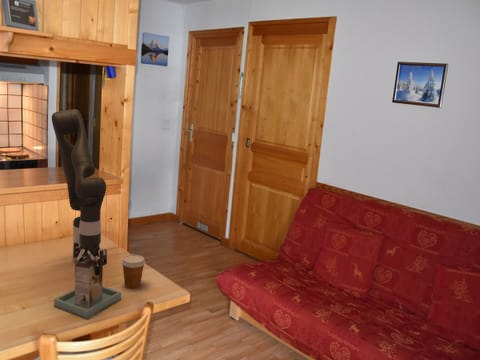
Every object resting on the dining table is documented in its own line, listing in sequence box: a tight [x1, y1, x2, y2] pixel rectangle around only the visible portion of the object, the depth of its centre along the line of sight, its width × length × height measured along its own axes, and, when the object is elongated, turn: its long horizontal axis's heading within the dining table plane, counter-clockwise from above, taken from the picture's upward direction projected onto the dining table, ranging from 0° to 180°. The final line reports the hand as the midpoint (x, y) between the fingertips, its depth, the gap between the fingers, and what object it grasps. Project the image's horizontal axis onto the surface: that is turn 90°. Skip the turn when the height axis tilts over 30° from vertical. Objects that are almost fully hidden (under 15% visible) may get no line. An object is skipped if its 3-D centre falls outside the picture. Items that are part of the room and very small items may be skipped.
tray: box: [53, 285, 122, 320], centre depth 168 cm, size 18×16×3 cm
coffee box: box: [74, 256, 104, 307], centre depth 166 cm, size 9×6×16 cm
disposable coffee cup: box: [121, 254, 146, 290], centre depth 184 cm, size 10×10×12 cm
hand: (89, 272), depth 165 cm, fingers open, 8 cm apart
